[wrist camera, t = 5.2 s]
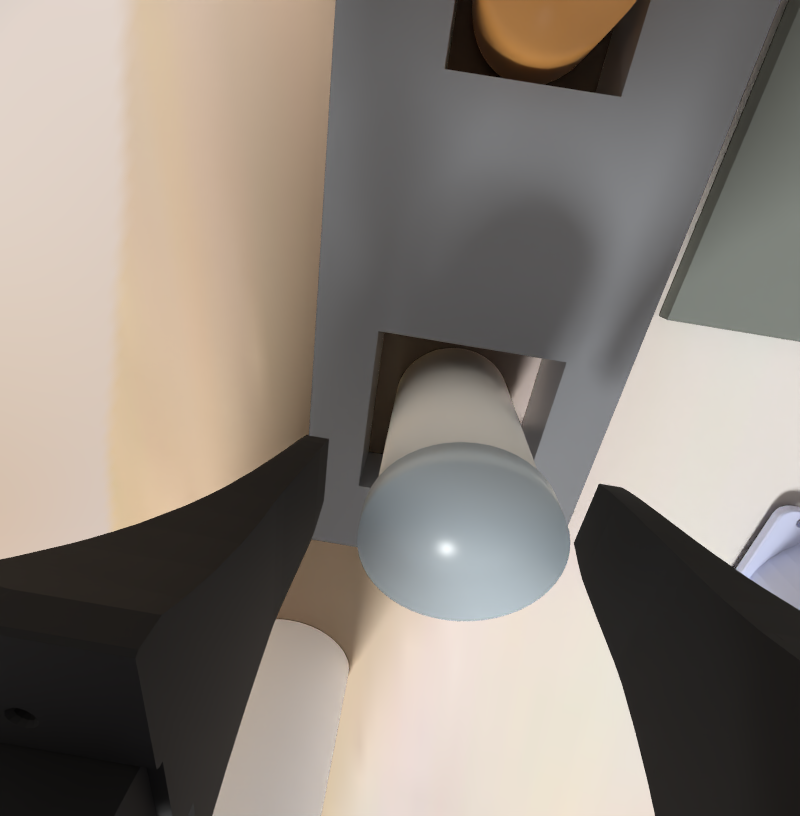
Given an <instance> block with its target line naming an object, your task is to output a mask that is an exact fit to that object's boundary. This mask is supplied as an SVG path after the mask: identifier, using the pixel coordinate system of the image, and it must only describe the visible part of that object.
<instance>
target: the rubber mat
mask: <svg viewBox="0 0 800 816" xmlns="http://www.w3.org/2000/svg"><path fill="white" fill-rule="evenodd" d="M659 316H660V317H662V318H665V319H667V320H672V321H678V322H684V323H690V324H696V325H702V326H708V327H714V328H720V329H726V330H732V331H738V332H745V333H751V334H757V335H763V336H769V337H775V338H781V339H787V340H793V341H799V342H800V0H789V2H788V4H787V7H786V9H785V11H784V14H783V16H782V19H781V21H780V24H779V26H778V28H777V31H776V33H775V36H774V38H773V41H772V43H771V45H770V48H769V50H768V53H767V55H766V58H765V60H764V62H763V65H762V67H761V70H760V72H759V75H758V77H757V79H756V82H755V84H754V87H753V89H752V92H751V94H750V96H749V99H748V101H747V104H746V106H745V108H744V111H743V113H742V116H741V118H740V121H739V123H738V125H737V128H736V130H735V133H734V135H733V138H732V140H731V142H730V145H729V147H728V150H727V152H726V155H725V157H724V159H723V162H722V164H721V167H720V169H719V172H718V174H717V176H716V179H715V181H714V184H713V186H712V189H711V191H710V193H709V196H708V198H707V201H706V203H705V205H704V208H703V210H702V213H701V215H700V218H699V220H698V222H697V225H696V227H695V230H694V232H693V235H692V237H691V239H690V242H689V244H688V247H687V249H686V252H685V254H684V256H683V259H682V261H681V264H680V266H679V269H678V271H677V273H676V276H675V278H674V281H673V283H672V286H671V288H670V290H669V293H668V295H667V298H666V300H665V302H664V305H663V307H662V310H661V312H660V315H659Z"/></svg>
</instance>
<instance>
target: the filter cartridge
mask: <svg viewBox="0 0 800 816" xmlns="http://www.w3.org/2000/svg"><path fill="white" fill-rule="evenodd" d="M357 547H358V552H359V557H360V560H361V563H362V565H363V568H364V569H365V571H366V573H367V575H368V576H369V578H370V579H371V580H372V582H373V583H374V584H375V585H376V586H377V587H378V588H379V589H380V590H381V591H382V592H383V593H384V594H385V595H386V596H388V597H389V598H390V599H392V600H393V601H395V602H396V603H398V604H400V605H401V606H403V607H405V608H407V609H409V610H411V611H414V612H417V613H419V614H422V615H426V616H429V617H433V618H438V619H444V620H452V621H478V620H487V619H492V618H497V617H501V616H504V615H508V614H511V613H513V612H516V611H518V610H521V609H522V608H524V607H526V606H528V605H530V604H532V603H533V602H535V601H536V600H538V599H539V598H541V597H542V596H543V595H544V594H545V593H546V592H548V591H549V590H550V589H551V587H552V586H553V585H554V584H555V583H556V582H557V580H558V579H559V577H560V576H561V574H562V572H563V570H564V568H565V566H566V564H567V560H568V556H569V551H570V534H569V529H568V526H567V522H566V519H565V517H564V514H563V512H562V509H561V507H560V504H559V502H558V499H557V497H556V495H555V493H554V491H553V488H552V487H551V485H550V484H549V482H548V481H547V480H546V478H545V477H544V476H543V475H542V474H541V473H540V472H539V471H538V470H537V468H536V465H535V462H534V460H533V457H532V454H531V452H530V449H529V446H528V443H527V441H526V438H525V435H524V432H523V430H522V427H521V424H520V421H519V419H518V416H517V413H516V411H515V408H514V405H513V402H512V400H511V397H510V394H509V391H508V389H507V386H506V383H505V381H504V378H503V376H502V374H501V373H500V371H499V370H498V369H497V367H496V366H495V365H494V364H493V363H492V362H491V361H489V360H488V359H487V358H485V357H484V356H482V355H480V354H478V353H476V352H474V351H470V350H467V349H461V348H444V349H439V350H435V351H432V352H429V353H427V354H425V355H423V356H421V357H420V358H418V359H417V360H416V361H414V362H413V363H412V364H411V365H410V366H409V367H408V368H407V370H406V371H405V372H404V374H403V375H402V378H401V380H400V382H399V385H398V388H397V392H396V397H395V402H394V406H393V411H392V416H391V421H390V425H389V430H388V435H387V439H386V444H385V449H384V453H383V458H382V463H381V467H380V472H379V477H378V478H377V479H376V481H375V482H374V483H373V485H372V487H371V488H370V490H369V492H368V494H367V497H366V500H365V503H364V507H363V511H362V515H361V520H360V524H359V528H358V535H357Z"/></svg>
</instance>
